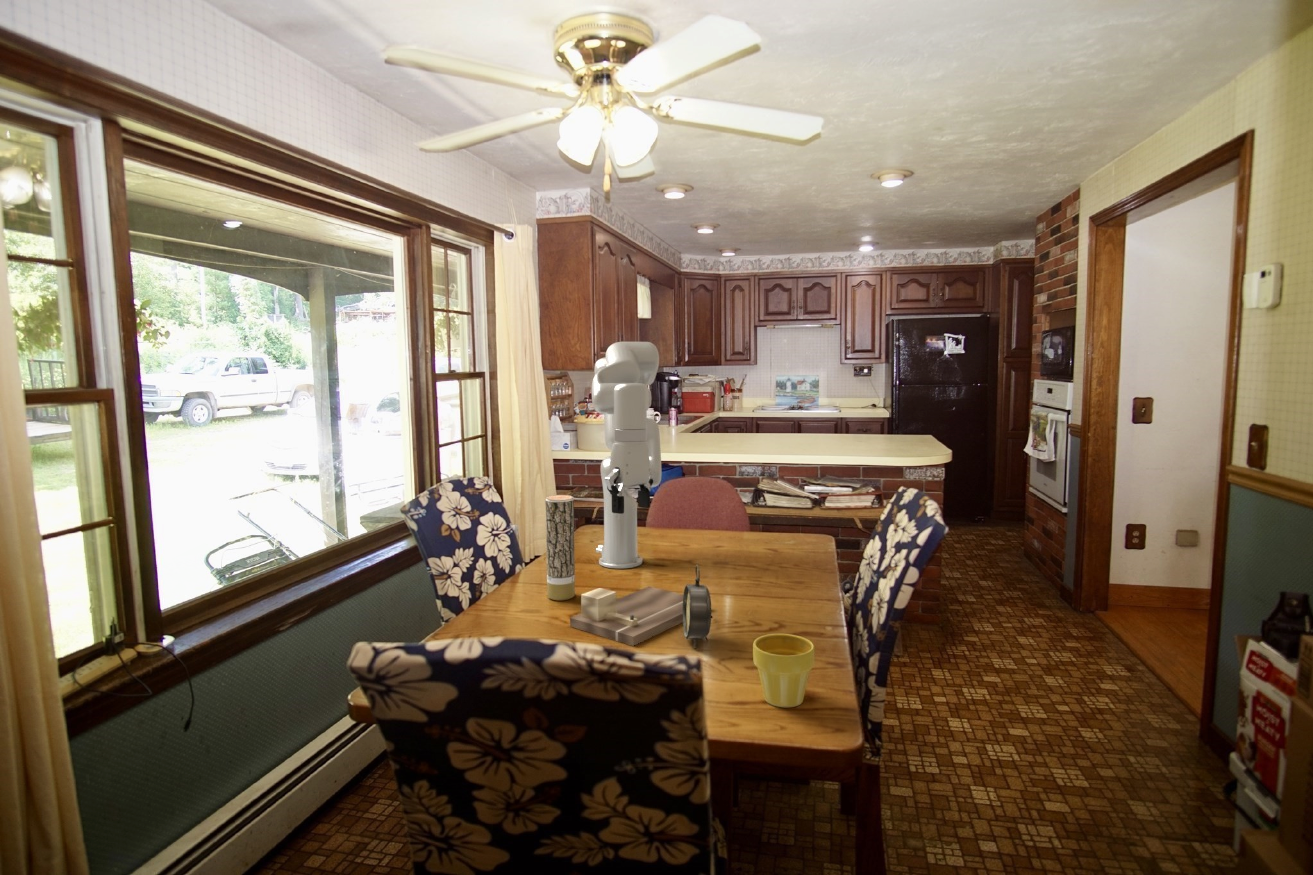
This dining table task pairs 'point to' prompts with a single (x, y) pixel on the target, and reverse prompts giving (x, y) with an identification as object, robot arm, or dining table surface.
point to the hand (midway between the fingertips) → (631, 510)
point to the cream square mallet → (603, 607)
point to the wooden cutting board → (638, 616)
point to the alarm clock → (696, 611)
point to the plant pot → (783, 667)
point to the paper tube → (560, 547)
